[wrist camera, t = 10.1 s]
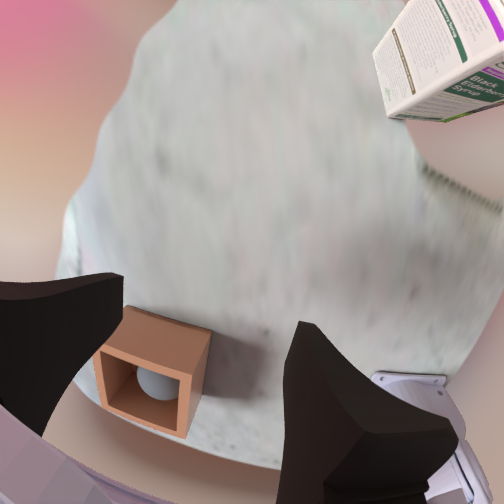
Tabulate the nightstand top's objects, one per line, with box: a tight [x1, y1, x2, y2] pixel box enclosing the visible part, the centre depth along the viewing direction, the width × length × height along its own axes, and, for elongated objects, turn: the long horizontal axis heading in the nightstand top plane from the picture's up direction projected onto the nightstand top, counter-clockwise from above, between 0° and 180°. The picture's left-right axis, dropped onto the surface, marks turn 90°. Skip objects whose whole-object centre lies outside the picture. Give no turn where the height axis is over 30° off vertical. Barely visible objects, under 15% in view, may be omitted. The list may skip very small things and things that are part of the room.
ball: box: [137, 366, 180, 400], centre depth 21 cm, size 4×4×4 cm
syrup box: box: [372, 0, 504, 122], centre depth 9 cm, size 6×6×14 cm
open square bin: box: [93, 305, 212, 439], centre depth 21 cm, size 8×8×6 cm
